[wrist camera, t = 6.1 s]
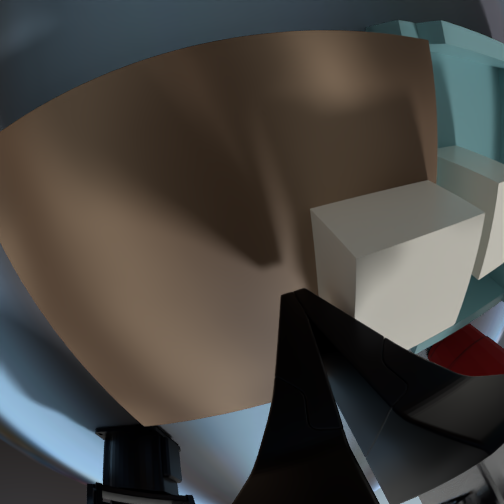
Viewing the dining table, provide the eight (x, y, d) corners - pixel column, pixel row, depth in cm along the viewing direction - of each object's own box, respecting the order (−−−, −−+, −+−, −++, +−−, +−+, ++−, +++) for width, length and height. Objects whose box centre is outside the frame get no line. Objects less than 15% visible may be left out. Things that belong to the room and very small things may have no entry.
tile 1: (478, 280, 11) (506, 260, 11) (498, 183, 8) (524, 173, 8) (419, 233, 15) (450, 221, 15) (422, 150, 12) (455, 145, 13)
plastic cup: (466, 348, 27) (514, 413, 17) (401, 387, 27) (447, 468, 17) (493, 284, 22) (562, 357, 12) (421, 327, 21) (496, 431, 11)
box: (373, 320, 19) (417, 383, 14) (365, 27, 9) (463, 11, 4) (479, 270, 20) (522, 310, 14) (497, 56, 10) (565, 70, 5)
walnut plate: (145, 375, 17) (144, 426, 14) (20, 135, 9) (-33, 157, 5) (375, 310, 18) (404, 351, 15) (369, 46, 10) (428, 40, 6)
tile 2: (320, 319, 12) (349, 375, 9) (309, 208, 9) (356, 258, 6) (416, 282, 12) (454, 324, 9) (428, 179, 9) (485, 212, 7)
